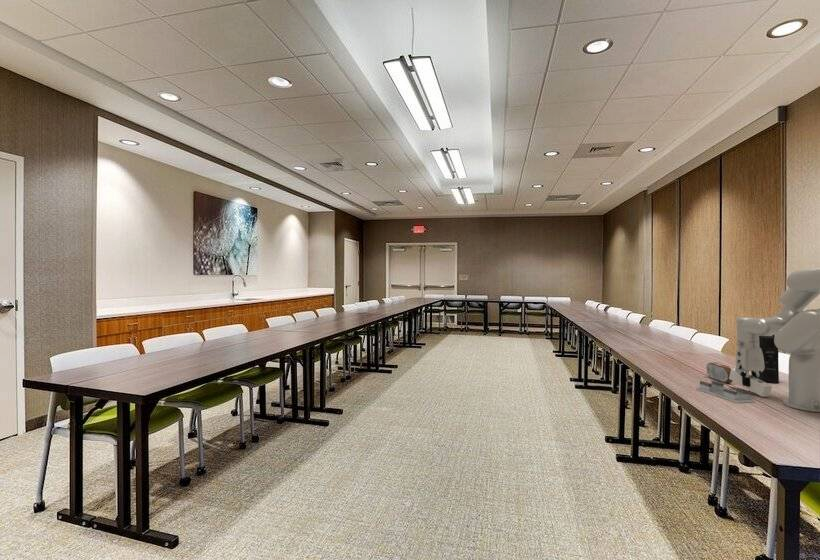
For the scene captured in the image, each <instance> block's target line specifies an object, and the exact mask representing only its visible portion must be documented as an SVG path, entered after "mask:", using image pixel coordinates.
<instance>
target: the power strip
mask: <svg viewBox="0 0 820 560" xmlns="http://www.w3.org/2000/svg"><path fill="white" fill-rule="evenodd" d="M735 369H736V368H731V372H730V376H729V379H730V380H732V381H733V382H734V383H736V384H738V385H740V386H742V387H744V388H745V389H746V390H748V391H750V392H753V393H754V394H757V395H758V396H760V397H762V398H765V397H770V396H771V391H772V388H773V385H771V384H770V383H765V382H763V381H761V380H759V379H757V378H755V377H753V376H751V374H749V377H748V378H750V387H748V386H743V385H742V377H741V375H740V374H739V373H738V372H736V371H735ZM744 373H745V371H744Z"/></svg>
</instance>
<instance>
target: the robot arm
mask: <svg viewBox="0 0 820 560" xmlns="http://www.w3.org/2000/svg"><path fill="white" fill-rule="evenodd" d="M785 283H786V286H787V288H786V289H785V291H784V292H783V293H782V294H781V295H780V296H779V301H780V303H781V304H783V306H782V308H781V309H780V311H778V312H777V314H775V315H774V316H773V317H760V318H759V317H757V318H755V317H744V316H743V317H742V316H741V317H738V318H737V319H736V321H735V322H736V323H735V325H736V339H737V343H736V345H737V347H736V353H735V368H734V369H735V371H736V372H738V373H739V374H740V375H741V377H742V385H743V386H748V387H750V378H748V377H749V375H751V376H753V377H755V378H757V379H758V377H759V375H760V373H761V372H762V371H764V368H765V366H764V358H763V353H762V350H761V348H760V346H759V336H773V335H775V338H774V343H775V345H776V347H777V348H778V351H781V352H783V353H786V354H789V357H788V399H787V398H786V399H784V400H783V402H782V403H783V404H784V406H787V407H790V408H792V409H796V410H801V411H805V412H811V413H812V412H815V413H820V308H816V309H814V308H813V309H812V308H811V309H806V307H807V306H808V305H810V304H811V303H812V302H813V301H814V300H815V298H817V297H819V295H820V267H814V268H807V269H806V268H805V269H799V270H795V271H793V272H791V273H790V274H789V275H788V276H787V277H786V281H785ZM804 309H806V310H804ZM744 372H745V373H744ZM743 386H742V387H743Z"/></svg>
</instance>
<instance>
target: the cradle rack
mask: <svg viewBox="0 0 820 560" xmlns="http://www.w3.org/2000/svg"><path fill="white" fill-rule="evenodd" d="M724 386H725V385H724V383H723V382H720V381H718V380H711V382H706V381H703V380H699V386H696V388H695V389H696V391H700V392H703V393H705V394H708V395H712V396H714V395H715V397H717V396H719V397H718V398H720V397H721V399H723V398H724V399H723V400H726V399H727V400H726V401H729V400H730V402H732V401H733V403H735V402H736V404H744V403H743V402H750V403H755V399H752V398H751V397H750V396H751V390H748V389H743V388H741V387H736V388H735V390H732V389H729V388H725V387H724Z"/></svg>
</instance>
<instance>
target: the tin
mask: <svg viewBox="0 0 820 560" xmlns="http://www.w3.org/2000/svg"><path fill="white" fill-rule="evenodd" d="M731 369H732V368H731V367H729V365H725V364H722V363H719V362H709V363H707V364H706V373H707V375H708V376H709V378H710V379H712V380H714V381H717V382H720V381H721V382H720V383H723V382H724V383H725V384H730V383H733V382H734V381H732V380H730V379H729V376H730V372H731Z"/></svg>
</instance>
